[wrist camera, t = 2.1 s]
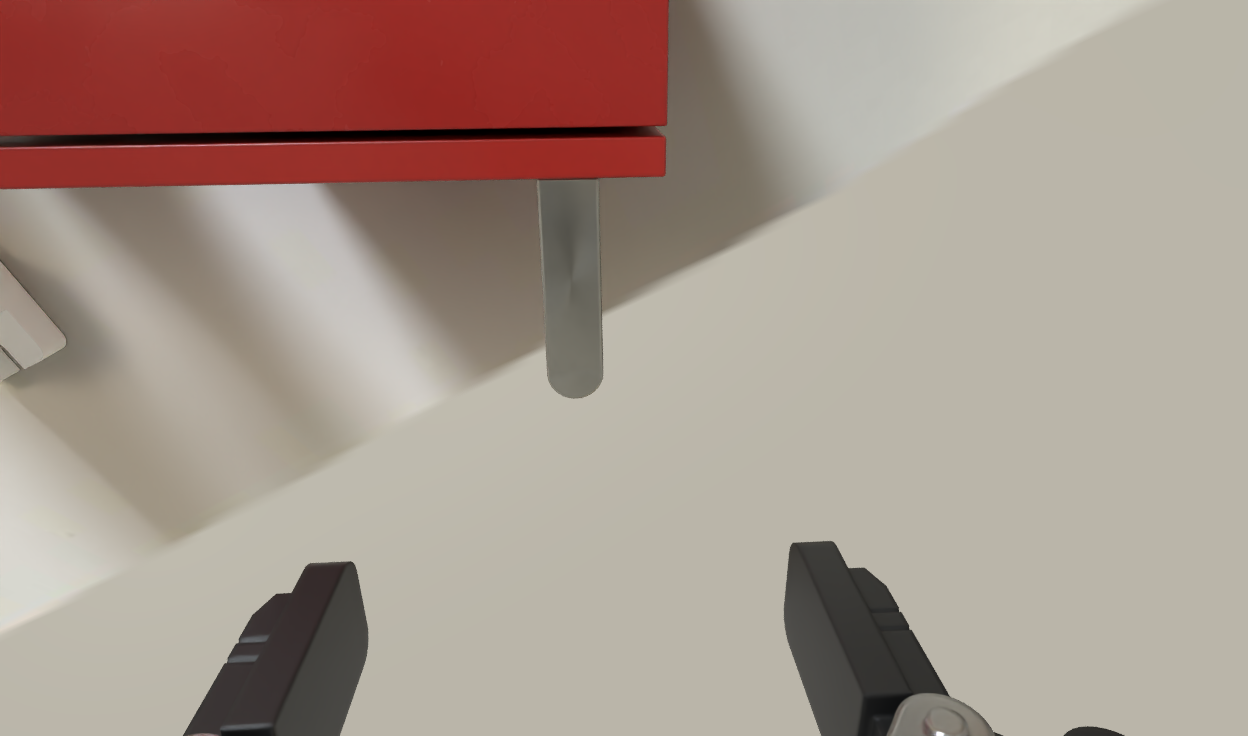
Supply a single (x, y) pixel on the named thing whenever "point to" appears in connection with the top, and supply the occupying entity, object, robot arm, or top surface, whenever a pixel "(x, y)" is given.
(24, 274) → the top surface
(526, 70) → the red upright rectangular box
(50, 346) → the cable organizer
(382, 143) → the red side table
